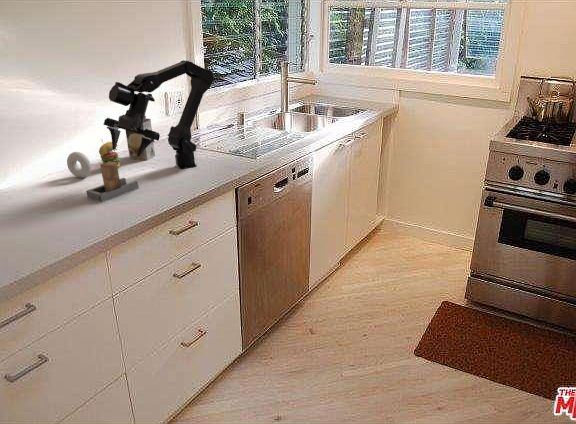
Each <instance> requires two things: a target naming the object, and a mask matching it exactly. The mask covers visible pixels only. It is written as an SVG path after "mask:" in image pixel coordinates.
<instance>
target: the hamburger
mask: <svg viewBox="0 0 576 424" xmlns="http://www.w3.org/2000/svg"><path fill="white" fill-rule="evenodd" d="M100 140H101V142H102V143H103V144H102V145H101V146H100V147H99V150H98V153H99V155H100V159H101V160H100V161H101V162H102V164H104V163H107V162H110V161H111V162H115V163H117V168H118V169H119V168H120V167H121V163H120V162H119V159H120V157H119V153H118V152H116V151H117V150H118V149H117V147H118V144H117V146H116V148H115V150H114V149H113V148H112V141H107V142H105V143H104V140H103V139H102V138H100Z"/></svg>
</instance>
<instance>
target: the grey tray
mask: <svg viewBox="0 0 576 424" xmlns="http://www.w3.org/2000/svg"><path fill="white" fill-rule="evenodd" d="M119 179H120V185H121V186H120V187H118V188H115V189H112V190H109V191H107V192H105V187H104V184H102V185H101V184H100V185H99V186H96V187H94V188H91V189H87V190H86V196H87V199H91V200H93V199H94V201H96V200H97V202H99V201H100V203H104V202H106V200H107V201H109V199H110V200H112V199H114V198H117V197H119V196H122V194H123V195H125V194H128V193H131V192H134V191H135V189H136V190H138V189H140V188H139V181H136V180H134V181H132V182H129V183H127V178H125V177H122V178H119ZM130 191H131V192H130ZM103 201H104V202H103Z"/></svg>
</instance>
